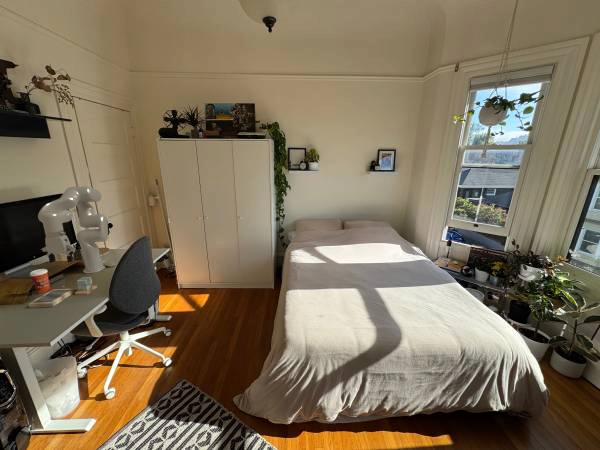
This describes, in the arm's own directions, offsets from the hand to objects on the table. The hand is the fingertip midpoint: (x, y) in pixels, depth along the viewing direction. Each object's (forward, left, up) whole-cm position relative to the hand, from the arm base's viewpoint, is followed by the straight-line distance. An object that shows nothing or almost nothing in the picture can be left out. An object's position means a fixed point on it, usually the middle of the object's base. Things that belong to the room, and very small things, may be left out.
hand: (61, 261), depth 142 cm
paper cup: (-7, -20, -23) cm, 31 cm away
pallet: (-6, +5, -23) cm, 24 cm away
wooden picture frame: (+3, -7, -23) cm, 24 cm away
